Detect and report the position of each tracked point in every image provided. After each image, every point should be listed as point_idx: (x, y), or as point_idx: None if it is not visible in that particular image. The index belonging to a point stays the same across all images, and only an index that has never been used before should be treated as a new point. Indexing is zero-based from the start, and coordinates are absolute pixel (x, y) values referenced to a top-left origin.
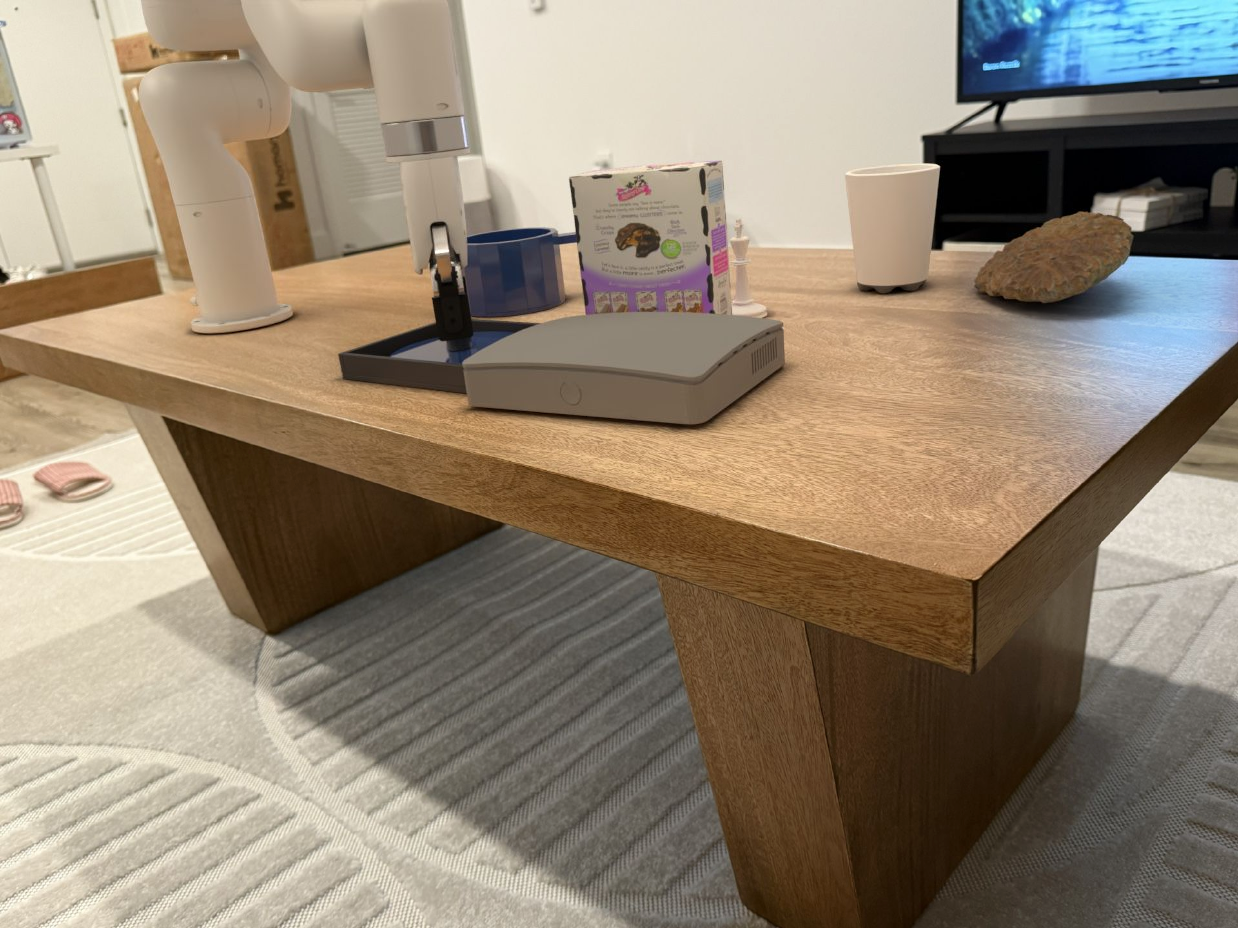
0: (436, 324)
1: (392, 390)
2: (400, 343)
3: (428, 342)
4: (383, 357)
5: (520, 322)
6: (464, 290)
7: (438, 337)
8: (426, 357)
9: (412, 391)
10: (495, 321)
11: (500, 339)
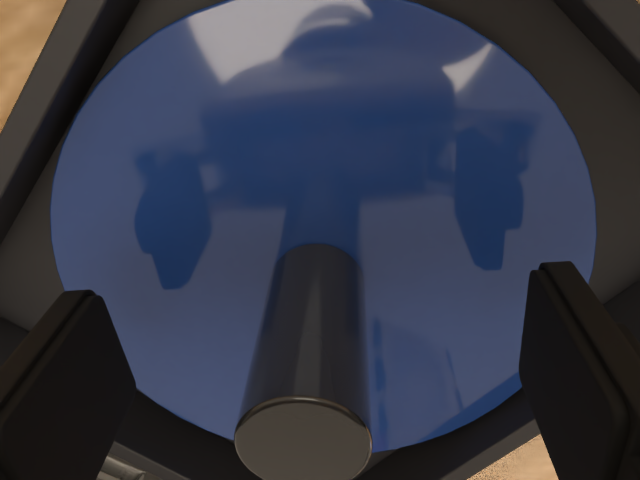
0: (31, 334)
1: (30, 27)
2: (574, 9)
3: (509, 153)
4: (79, 2)
5: (475, 468)
6: (562, 474)
7: (60, 295)
8: (215, 172)
9: (8, 110)
10: None
11: (384, 392)
